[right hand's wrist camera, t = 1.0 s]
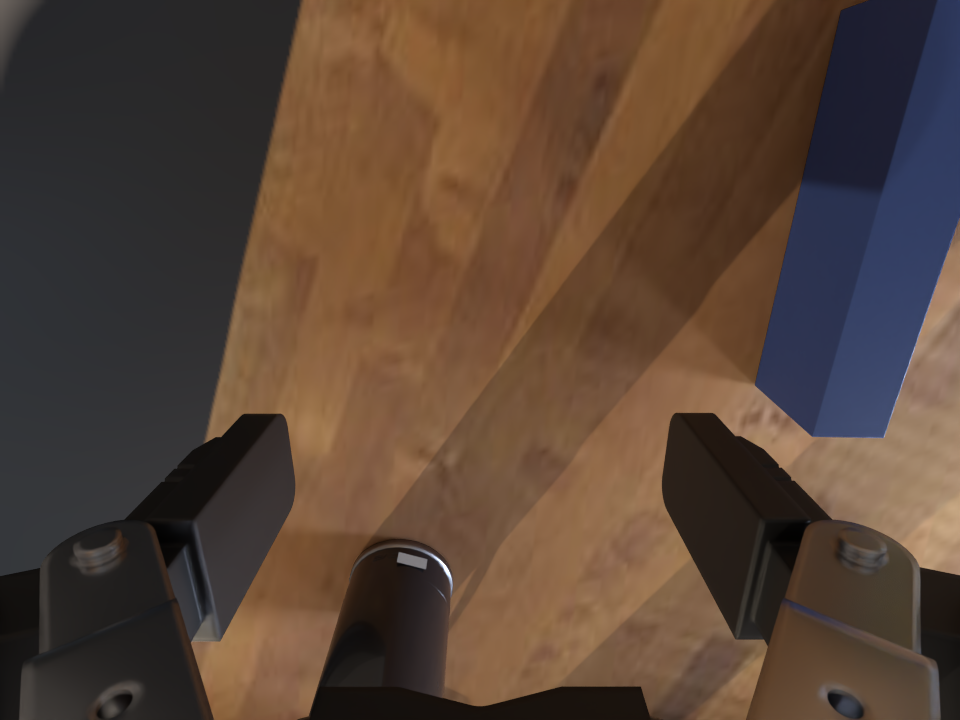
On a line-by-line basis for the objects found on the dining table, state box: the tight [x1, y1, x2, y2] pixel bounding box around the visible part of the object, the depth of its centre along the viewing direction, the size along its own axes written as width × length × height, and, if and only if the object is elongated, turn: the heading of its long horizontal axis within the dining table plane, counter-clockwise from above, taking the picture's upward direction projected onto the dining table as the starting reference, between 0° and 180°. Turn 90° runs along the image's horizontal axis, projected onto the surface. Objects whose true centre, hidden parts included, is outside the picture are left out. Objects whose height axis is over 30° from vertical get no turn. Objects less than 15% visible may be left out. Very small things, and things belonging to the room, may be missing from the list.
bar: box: [755, 0, 960, 438], centre depth 34 cm, size 25×5×8 cm, turn 179°
